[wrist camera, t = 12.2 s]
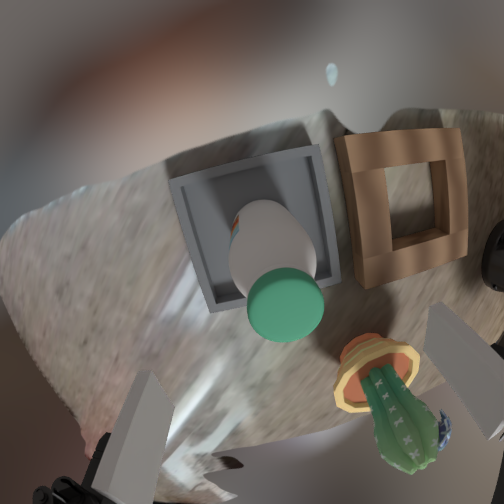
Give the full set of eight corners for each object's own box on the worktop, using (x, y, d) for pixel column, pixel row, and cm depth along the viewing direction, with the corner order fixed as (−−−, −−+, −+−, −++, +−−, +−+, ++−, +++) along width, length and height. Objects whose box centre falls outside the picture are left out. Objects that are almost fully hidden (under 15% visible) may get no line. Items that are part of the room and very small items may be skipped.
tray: (312, 145, 32) (318, 144, 29) (334, 273, 37) (341, 282, 35) (174, 178, 33) (168, 180, 30) (212, 302, 38) (210, 313, 36)
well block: (443, 128, 31) (459, 128, 27) (452, 247, 37) (466, 255, 33) (333, 138, 32) (344, 135, 28) (354, 278, 38) (365, 289, 34)
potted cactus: (366, 388, 46) (410, 487, 22) (305, 373, 44) (337, 500, 20) (414, 329, 42) (487, 423, 18) (356, 304, 39) (438, 429, 16)
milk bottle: (249, 187, 32) (258, 224, 13) (304, 215, 34) (374, 283, 15) (222, 242, 34) (199, 338, 16) (275, 267, 36) (306, 375, 17)
